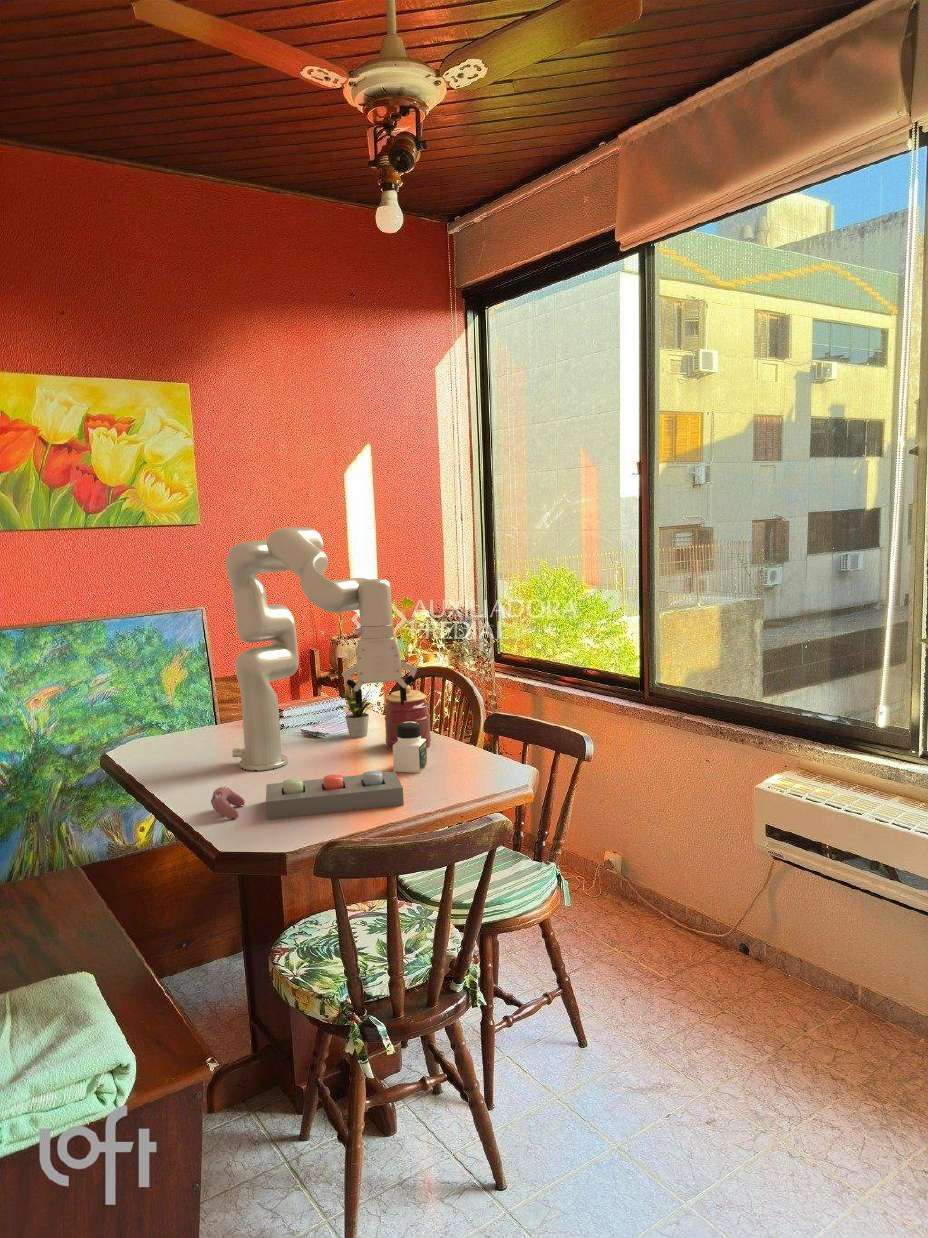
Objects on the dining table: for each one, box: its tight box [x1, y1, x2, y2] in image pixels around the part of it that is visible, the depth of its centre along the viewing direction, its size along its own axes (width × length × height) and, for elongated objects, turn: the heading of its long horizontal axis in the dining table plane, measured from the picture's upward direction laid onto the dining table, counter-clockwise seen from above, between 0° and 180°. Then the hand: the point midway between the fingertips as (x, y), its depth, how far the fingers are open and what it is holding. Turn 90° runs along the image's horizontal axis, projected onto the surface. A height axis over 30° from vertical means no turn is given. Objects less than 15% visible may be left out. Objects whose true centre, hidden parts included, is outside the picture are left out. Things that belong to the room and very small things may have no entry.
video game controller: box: [210, 785, 245, 820], centre depth 190 cm, size 10×5×7 cm, turn 5°
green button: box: [282, 778, 304, 794], centre depth 192 cm, size 4×4×3 cm
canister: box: [383, 685, 432, 751], centre depth 241 cm, size 13×13×18 cm
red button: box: [322, 774, 344, 790], centre depth 193 cm, size 4×4×3 cm
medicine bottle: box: [392, 722, 428, 774], centre depth 218 cm, size 7×7×12 cm
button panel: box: [265, 771, 405, 820], centre depth 194 cm, size 30×13×4 cm, turn 102°
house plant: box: [333, 684, 377, 739], centre depth 255 cm, size 14×14×16 cm
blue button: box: [362, 770, 383, 786], centre depth 195 cm, size 4×4×3 cm
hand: (381, 705), depth 197 cm, fingers open, 9 cm apart
